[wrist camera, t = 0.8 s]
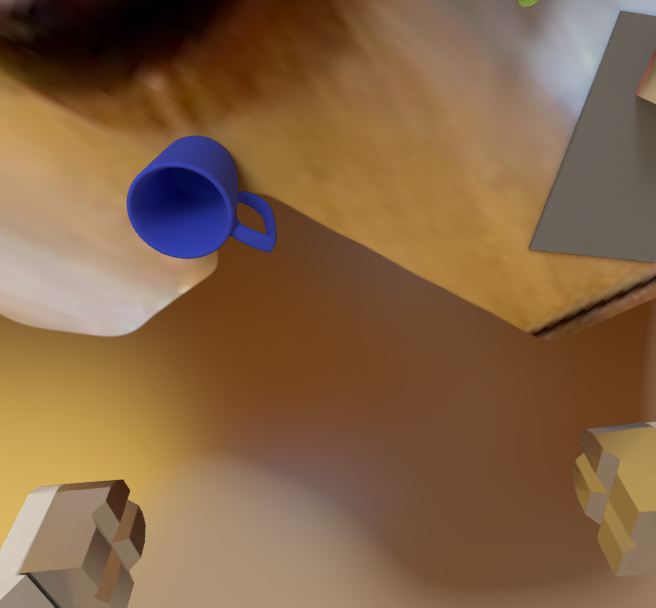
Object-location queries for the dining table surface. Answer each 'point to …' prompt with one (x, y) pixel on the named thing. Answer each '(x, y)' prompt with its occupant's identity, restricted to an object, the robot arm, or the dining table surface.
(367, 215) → the dining table surface
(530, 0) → the teapot
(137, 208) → the mug
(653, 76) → the cube
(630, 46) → the mat
